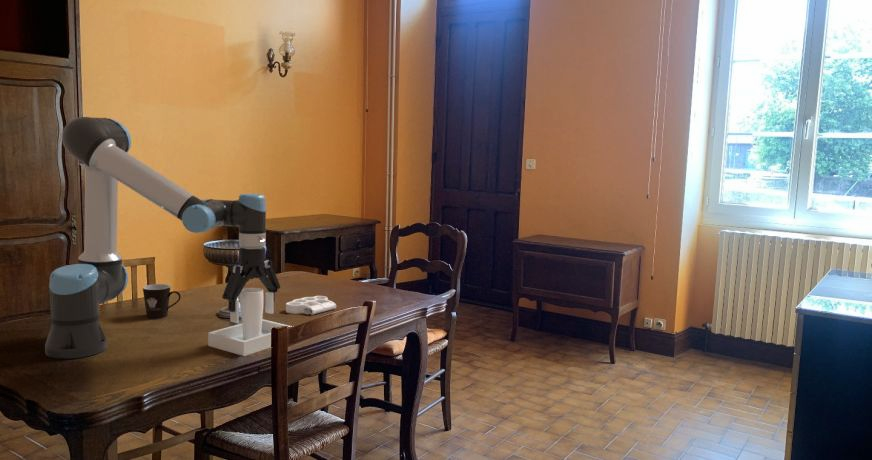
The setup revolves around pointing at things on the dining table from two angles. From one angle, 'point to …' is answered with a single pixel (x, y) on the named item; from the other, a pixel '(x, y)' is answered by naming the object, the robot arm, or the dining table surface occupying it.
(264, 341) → the white shallow tray
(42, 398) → the dining table surface
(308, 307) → the white flat molded slab
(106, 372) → the dining table surface
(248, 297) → the drinking glass
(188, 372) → the dining table surface
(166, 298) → the coffee mug
